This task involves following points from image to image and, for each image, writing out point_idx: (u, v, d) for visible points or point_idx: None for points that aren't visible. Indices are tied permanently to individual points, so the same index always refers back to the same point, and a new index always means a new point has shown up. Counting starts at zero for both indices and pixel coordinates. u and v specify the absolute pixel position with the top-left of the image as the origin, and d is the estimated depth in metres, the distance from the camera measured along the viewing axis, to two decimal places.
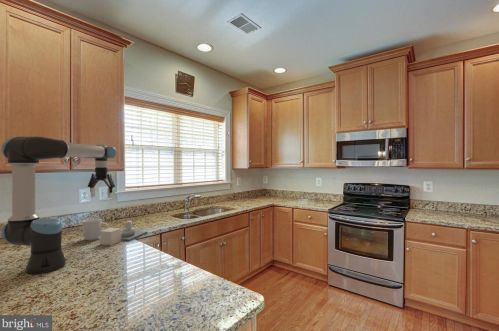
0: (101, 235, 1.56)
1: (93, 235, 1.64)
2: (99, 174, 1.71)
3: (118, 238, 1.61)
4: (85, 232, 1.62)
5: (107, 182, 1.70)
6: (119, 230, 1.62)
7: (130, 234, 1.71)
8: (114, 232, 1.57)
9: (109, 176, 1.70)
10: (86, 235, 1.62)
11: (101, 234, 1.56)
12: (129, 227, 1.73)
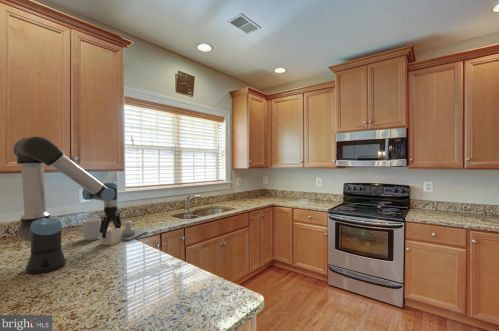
0: (101, 235, 1.56)
1: (93, 235, 1.64)
2: None
3: (118, 238, 1.61)
4: (85, 232, 1.62)
5: None
6: (119, 230, 1.62)
7: (130, 234, 1.71)
8: (114, 232, 1.58)
9: (102, 219, 1.54)
10: (86, 235, 1.62)
11: (101, 234, 1.56)
12: (129, 227, 1.73)
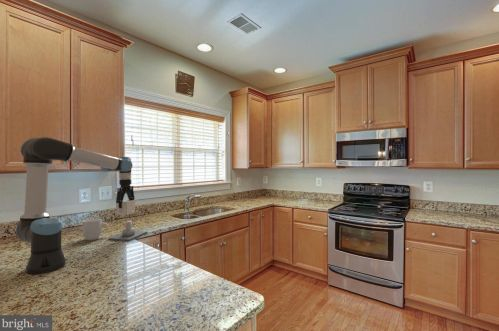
0: (117, 205, 1.68)
1: (93, 235, 1.64)
2: None
3: (133, 209, 1.73)
4: (85, 232, 1.62)
5: None
6: (133, 202, 1.73)
7: (130, 234, 1.71)
8: (129, 203, 1.69)
9: (118, 190, 1.65)
10: (86, 235, 1.62)
11: (117, 205, 1.68)
12: (129, 227, 1.73)
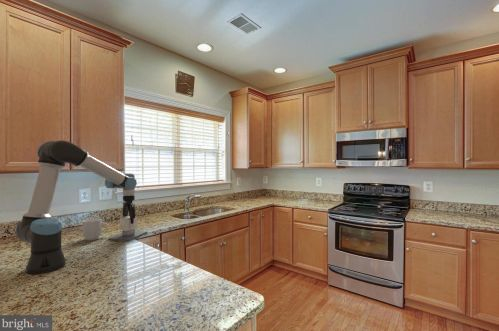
0: (127, 222, 1.69)
1: (93, 235, 1.64)
2: (126, 202, 1.74)
3: None
4: (85, 232, 1.62)
5: (130, 212, 1.71)
6: None
7: (130, 234, 1.71)
8: None
9: (132, 206, 1.70)
10: (86, 235, 1.62)
11: (126, 221, 1.69)
12: None
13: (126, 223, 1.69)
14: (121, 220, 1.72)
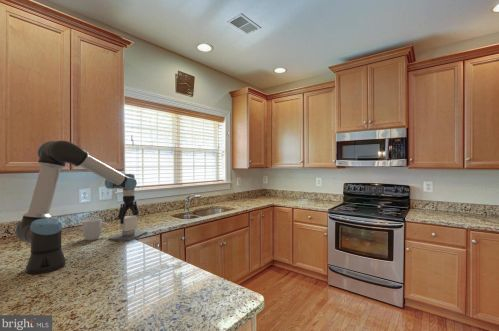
0: (127, 222, 1.69)
1: (93, 235, 1.64)
2: None
3: None
4: (85, 232, 1.62)
5: None
6: None
7: (130, 234, 1.71)
8: None
9: (121, 206, 1.67)
10: (86, 235, 1.62)
11: (126, 221, 1.69)
12: None
13: (126, 223, 1.69)
14: None
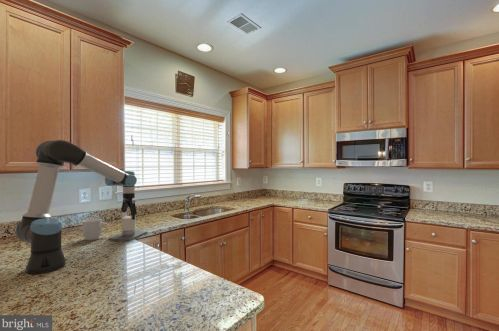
0: None
1: (93, 235, 1.64)
2: (126, 200, 1.74)
3: None
4: (85, 232, 1.62)
5: (131, 208, 1.70)
6: None
7: (130, 234, 1.71)
8: None
9: (132, 202, 1.69)
10: (86, 235, 1.62)
11: None
12: None
13: None
14: (125, 221, 1.70)
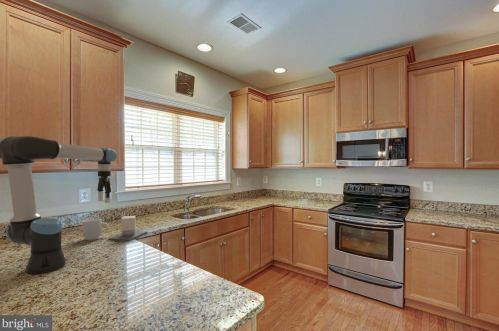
0: (134, 221, 1.73)
1: (93, 235, 1.64)
2: (102, 178, 1.67)
3: None
4: (85, 232, 1.62)
5: (105, 186, 1.63)
6: None
7: (130, 234, 1.71)
8: None
9: (107, 180, 1.62)
10: (86, 235, 1.62)
11: (134, 220, 1.73)
12: None
13: (134, 222, 1.73)
14: (125, 221, 1.70)
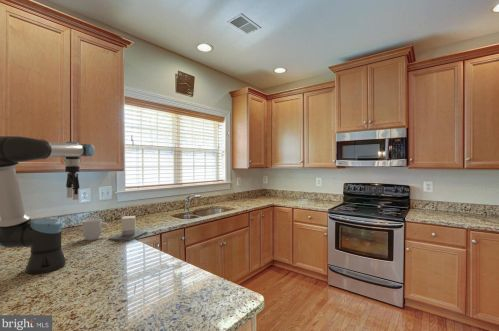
0: (134, 221, 1.73)
1: (93, 235, 1.64)
2: (70, 173, 1.59)
3: None
4: (85, 232, 1.62)
5: (73, 182, 1.55)
6: None
7: (130, 234, 1.71)
8: None
9: (75, 176, 1.55)
10: (86, 235, 1.62)
11: (134, 220, 1.73)
12: None
13: (134, 222, 1.73)
14: (125, 221, 1.70)
